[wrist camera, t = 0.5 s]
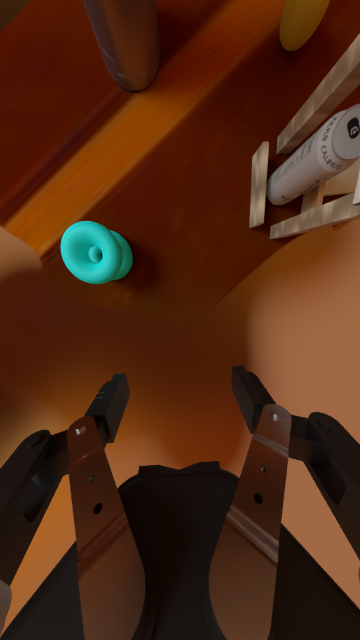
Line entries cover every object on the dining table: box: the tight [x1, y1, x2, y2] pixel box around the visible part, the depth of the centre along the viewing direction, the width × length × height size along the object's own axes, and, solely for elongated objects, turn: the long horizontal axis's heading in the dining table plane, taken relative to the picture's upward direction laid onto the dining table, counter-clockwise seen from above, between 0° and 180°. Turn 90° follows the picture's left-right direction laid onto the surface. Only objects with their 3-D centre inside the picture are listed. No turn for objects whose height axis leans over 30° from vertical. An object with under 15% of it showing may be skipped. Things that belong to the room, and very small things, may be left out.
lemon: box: [279, 0, 330, 51], centre depth 23 cm, size 6×6×8 cm
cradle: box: [250, 34, 360, 239], centre depth 24 cm, size 17×12×19 cm
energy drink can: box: [266, 104, 360, 205], centre depth 26 cm, size 6×6×15 cm
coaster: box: [323, 157, 360, 196], centre depth 32 cm, size 9×9×1 cm
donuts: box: [61, 221, 133, 284], centre depth 32 cm, size 10×10×10 cm
